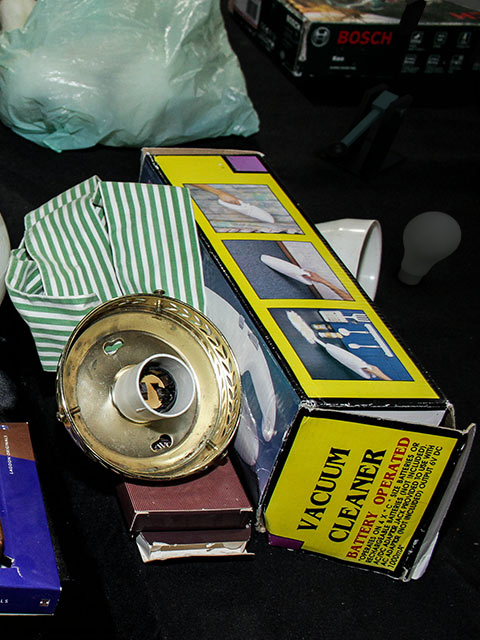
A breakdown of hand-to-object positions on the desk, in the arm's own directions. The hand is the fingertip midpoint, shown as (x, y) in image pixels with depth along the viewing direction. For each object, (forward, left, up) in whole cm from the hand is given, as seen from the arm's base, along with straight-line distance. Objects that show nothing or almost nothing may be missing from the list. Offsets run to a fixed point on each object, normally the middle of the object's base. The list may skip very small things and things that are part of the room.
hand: (441, 45), depth 113 cm
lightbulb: (-15, +15, -23) cm, 31 cm away
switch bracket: (+6, -6, -23) cm, 25 cm away
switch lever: (+6, -3, -17) cm, 19 cm away
